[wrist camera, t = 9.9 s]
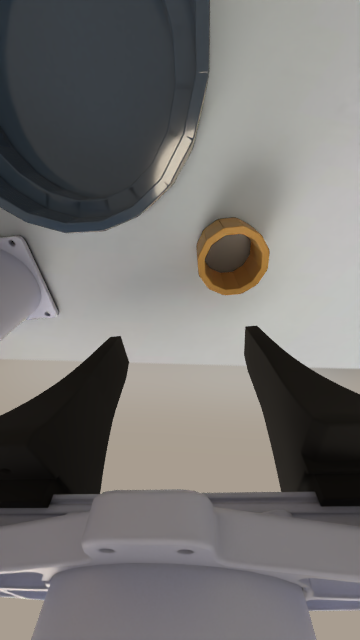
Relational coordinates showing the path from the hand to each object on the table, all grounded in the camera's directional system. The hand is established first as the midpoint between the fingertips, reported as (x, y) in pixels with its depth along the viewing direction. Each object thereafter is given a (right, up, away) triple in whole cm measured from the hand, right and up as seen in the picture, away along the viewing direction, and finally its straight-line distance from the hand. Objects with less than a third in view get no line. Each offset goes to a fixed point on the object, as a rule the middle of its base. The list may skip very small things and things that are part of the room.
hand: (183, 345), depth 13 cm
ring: (+4, +7, +6) cm, 10 cm away
